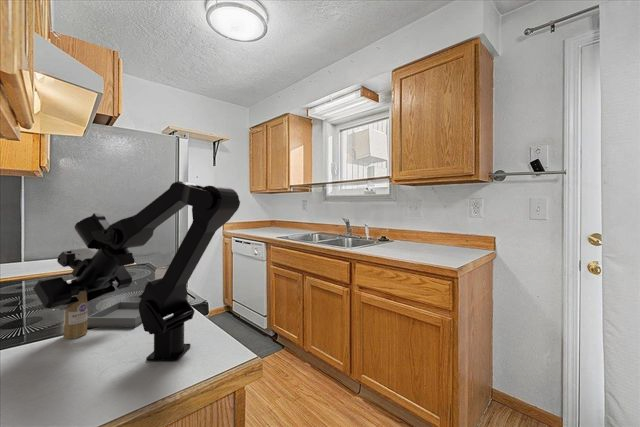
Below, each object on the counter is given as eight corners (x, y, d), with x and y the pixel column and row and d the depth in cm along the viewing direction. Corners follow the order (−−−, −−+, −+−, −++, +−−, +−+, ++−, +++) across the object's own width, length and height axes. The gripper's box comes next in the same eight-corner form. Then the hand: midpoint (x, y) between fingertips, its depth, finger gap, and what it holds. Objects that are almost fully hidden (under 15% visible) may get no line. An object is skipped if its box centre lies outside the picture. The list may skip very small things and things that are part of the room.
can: (155, 300, 95) (155, 265, 95) (177, 298, 98) (177, 263, 98) (153, 306, 89) (153, 268, 89) (176, 304, 92) (176, 267, 92)
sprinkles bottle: (78, 339, 67) (78, 282, 67) (57, 339, 67) (57, 282, 67) (92, 331, 72) (92, 277, 71) (73, 331, 71) (73, 277, 71)
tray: (135, 327, 74) (135, 318, 74) (84, 327, 74) (84, 317, 74) (162, 309, 87) (162, 301, 87) (119, 309, 87) (119, 301, 87)
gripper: (124, 234, 77) (94, 272, 80) (39, 242, 59) (5, 290, 62) (147, 266, 74) (115, 303, 78) (65, 283, 57) (29, 331, 60)
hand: (71, 305), depth 69 cm, fingers closed on sprinkles bottle, 4 cm apart
